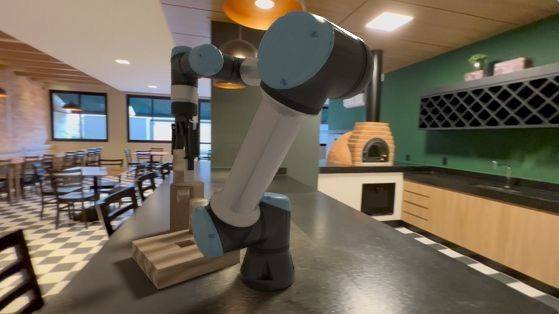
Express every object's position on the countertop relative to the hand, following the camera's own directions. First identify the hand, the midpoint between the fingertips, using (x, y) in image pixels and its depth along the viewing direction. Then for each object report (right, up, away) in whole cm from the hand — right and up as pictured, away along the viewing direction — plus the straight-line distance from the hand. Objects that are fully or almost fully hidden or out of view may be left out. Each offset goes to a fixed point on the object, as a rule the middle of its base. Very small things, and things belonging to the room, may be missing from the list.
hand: (184, 179), depth 81 cm
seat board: (0, -25, +2) cm, 25 cm away
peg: (0, -6, 0) cm, 6 cm away
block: (-8, -23, +27) cm, 37 cm away
